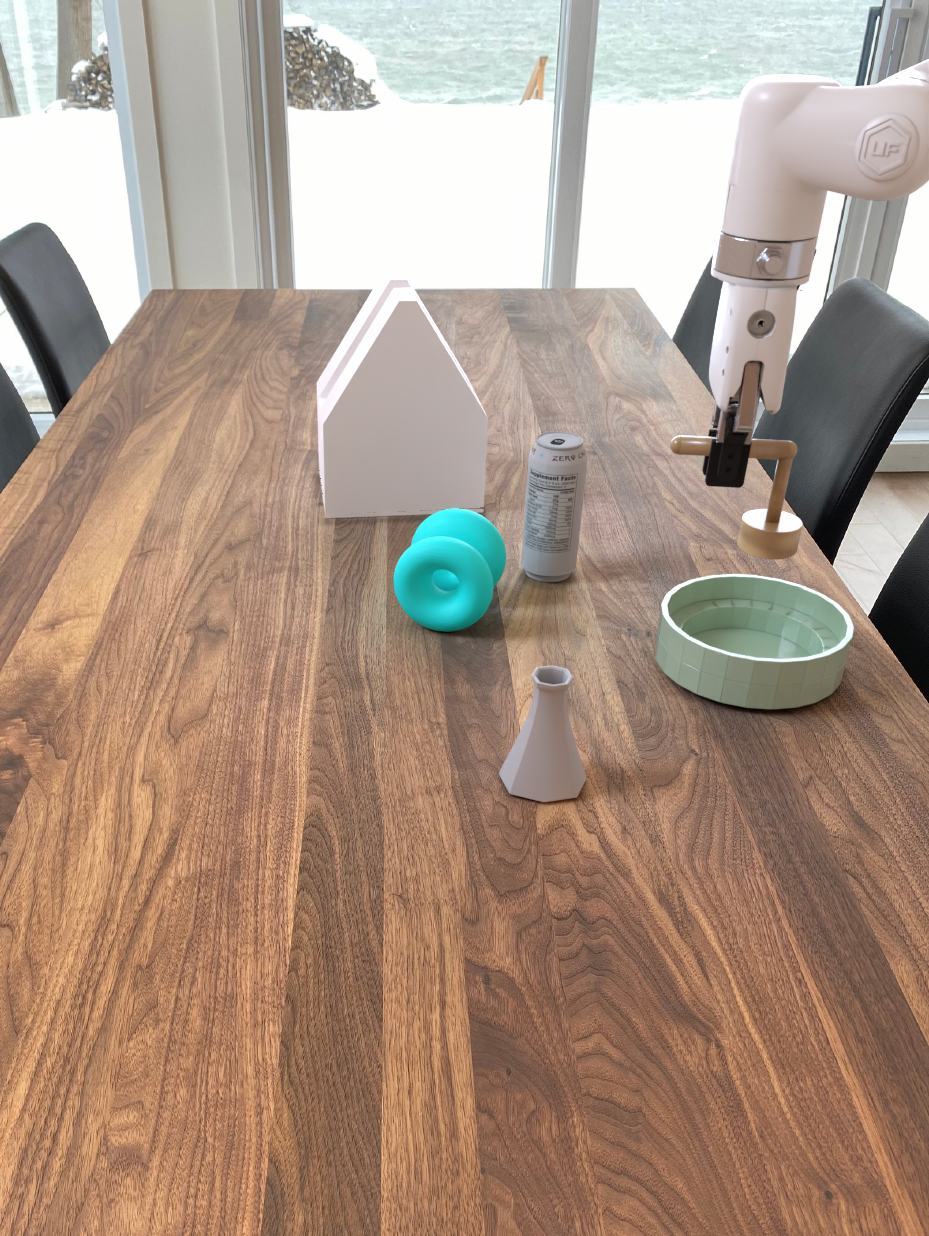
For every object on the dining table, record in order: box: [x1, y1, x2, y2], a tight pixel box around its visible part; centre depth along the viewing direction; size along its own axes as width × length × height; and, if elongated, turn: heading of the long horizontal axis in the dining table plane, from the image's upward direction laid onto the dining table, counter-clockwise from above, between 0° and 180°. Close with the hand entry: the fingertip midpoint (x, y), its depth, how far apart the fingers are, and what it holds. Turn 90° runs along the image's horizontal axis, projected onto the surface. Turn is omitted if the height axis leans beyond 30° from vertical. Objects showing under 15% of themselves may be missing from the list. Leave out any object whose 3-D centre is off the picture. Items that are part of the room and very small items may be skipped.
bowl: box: [653, 573, 855, 710], centre depth 111 cm, size 17×17×6 cm
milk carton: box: [316, 267, 490, 519], centre depth 142 cm, size 19×15×25 cm
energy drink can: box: [520, 431, 589, 583], centre depth 126 cm, size 6×6×15 cm
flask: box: [498, 665, 587, 803], centre depth 95 cm, size 7×7×10 cm
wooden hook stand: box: [669, 434, 804, 560], centre depth 103 cm, size 12×5×10 cm, turn 82°
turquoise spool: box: [393, 508, 507, 633], centre depth 119 cm, size 10×10×10 cm
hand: (722, 479), depth 103 cm, fingers closed on wooden hook stand, 1 cm apart
